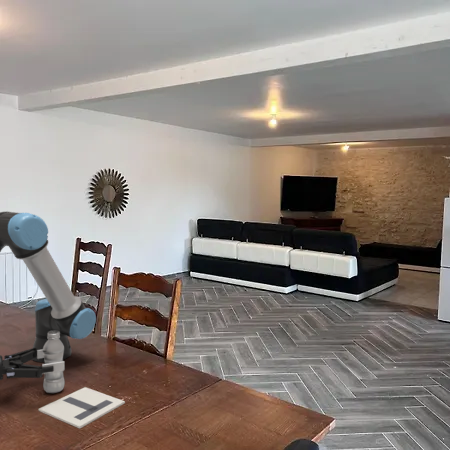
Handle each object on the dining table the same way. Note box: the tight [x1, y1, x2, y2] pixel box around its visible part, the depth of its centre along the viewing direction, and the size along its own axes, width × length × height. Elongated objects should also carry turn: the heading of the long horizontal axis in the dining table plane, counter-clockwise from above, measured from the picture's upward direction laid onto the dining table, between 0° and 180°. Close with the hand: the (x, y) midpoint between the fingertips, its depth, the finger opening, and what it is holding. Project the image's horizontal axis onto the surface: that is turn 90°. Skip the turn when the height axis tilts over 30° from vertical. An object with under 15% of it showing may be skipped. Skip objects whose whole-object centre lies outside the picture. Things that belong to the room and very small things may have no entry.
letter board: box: [38, 386, 126, 430], centre depth 137 cm, size 18×18×1 cm
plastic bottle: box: [42, 331, 65, 394], centre depth 146 cm, size 6×7×20 cm
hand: (60, 358), depth 147 cm, fingers open, 13 cm apart
